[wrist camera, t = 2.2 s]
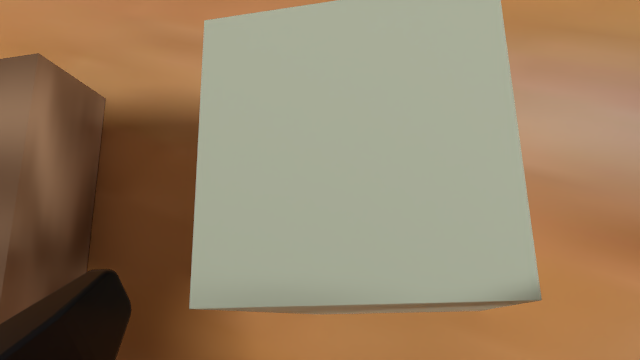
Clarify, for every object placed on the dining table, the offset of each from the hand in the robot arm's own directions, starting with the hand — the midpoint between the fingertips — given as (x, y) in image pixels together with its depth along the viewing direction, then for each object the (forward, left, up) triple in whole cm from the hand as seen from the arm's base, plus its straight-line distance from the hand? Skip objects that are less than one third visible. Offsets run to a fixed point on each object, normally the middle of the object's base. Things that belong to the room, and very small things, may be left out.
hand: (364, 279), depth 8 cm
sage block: (+1, +2, -10) cm, 10 cm away
